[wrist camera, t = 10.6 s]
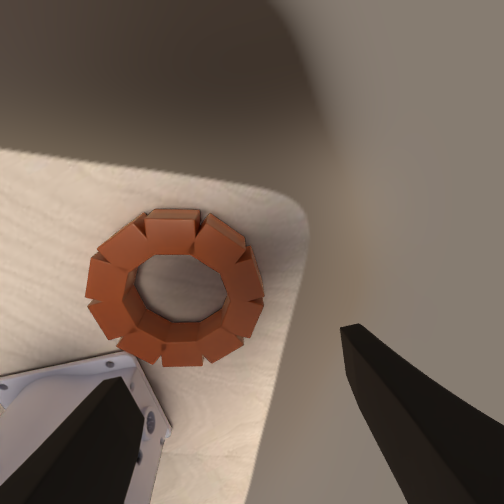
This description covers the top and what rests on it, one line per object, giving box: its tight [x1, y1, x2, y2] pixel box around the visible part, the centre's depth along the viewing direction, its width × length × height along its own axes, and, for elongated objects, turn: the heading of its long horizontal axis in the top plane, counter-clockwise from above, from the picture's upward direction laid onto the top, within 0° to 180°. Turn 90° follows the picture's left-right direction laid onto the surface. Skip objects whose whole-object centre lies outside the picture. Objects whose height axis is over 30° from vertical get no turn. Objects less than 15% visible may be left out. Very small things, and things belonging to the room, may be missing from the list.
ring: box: [85, 209, 264, 367], centre depth 15 cm, size 9×9×2 cm
